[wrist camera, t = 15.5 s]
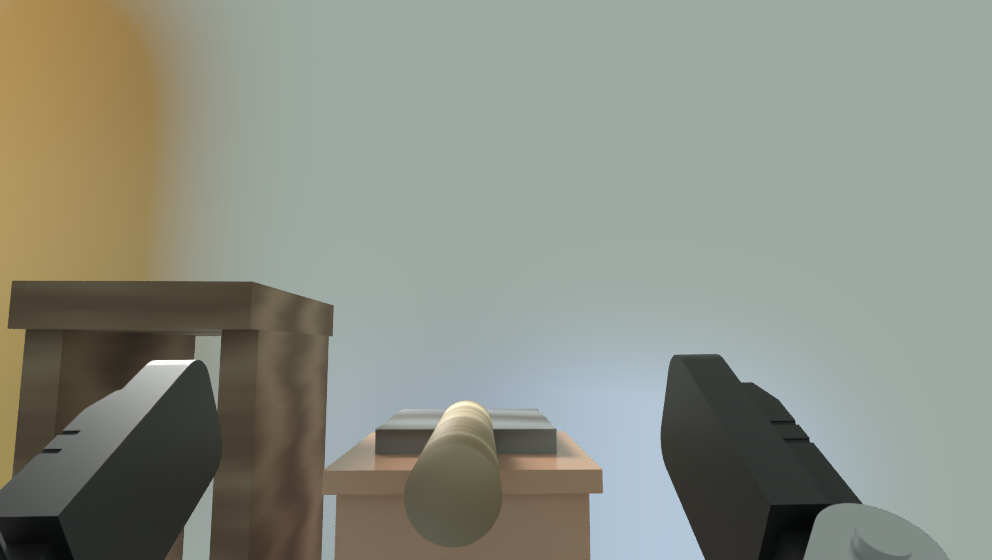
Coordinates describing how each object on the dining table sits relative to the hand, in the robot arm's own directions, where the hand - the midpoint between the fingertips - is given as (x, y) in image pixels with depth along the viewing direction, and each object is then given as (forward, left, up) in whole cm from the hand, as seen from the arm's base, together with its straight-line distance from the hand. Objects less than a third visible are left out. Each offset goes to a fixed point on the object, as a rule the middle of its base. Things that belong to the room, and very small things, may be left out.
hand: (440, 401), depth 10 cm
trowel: (-11, +13, -4) cm, 18 cm away
